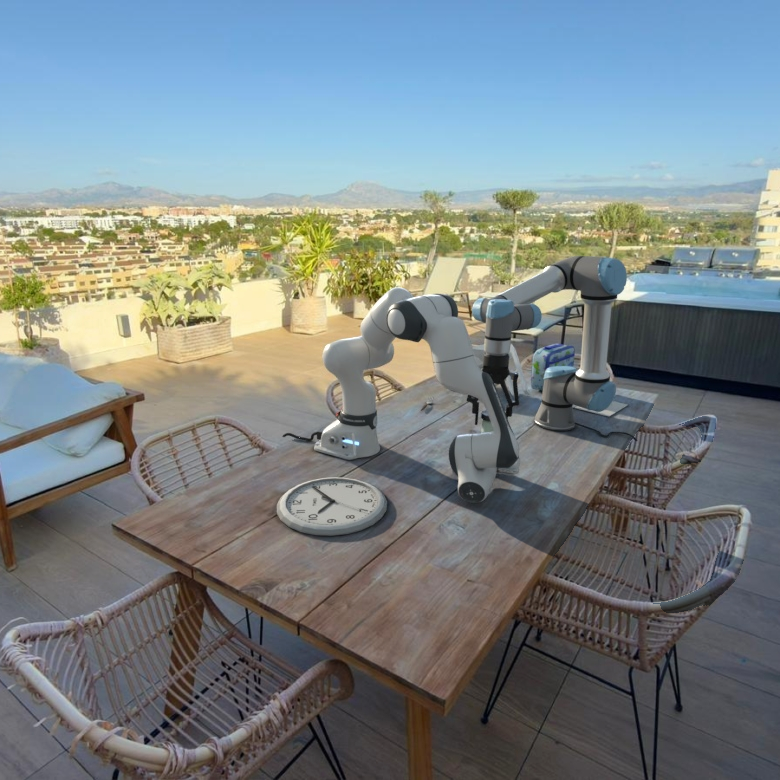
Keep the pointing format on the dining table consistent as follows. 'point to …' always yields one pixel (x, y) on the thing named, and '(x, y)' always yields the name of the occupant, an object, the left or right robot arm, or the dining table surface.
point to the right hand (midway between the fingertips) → (490, 424)
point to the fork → (427, 403)
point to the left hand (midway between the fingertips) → (489, 450)
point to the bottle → (486, 426)
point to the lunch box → (550, 361)
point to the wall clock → (331, 506)
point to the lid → (485, 416)
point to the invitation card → (607, 409)
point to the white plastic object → (513, 355)
